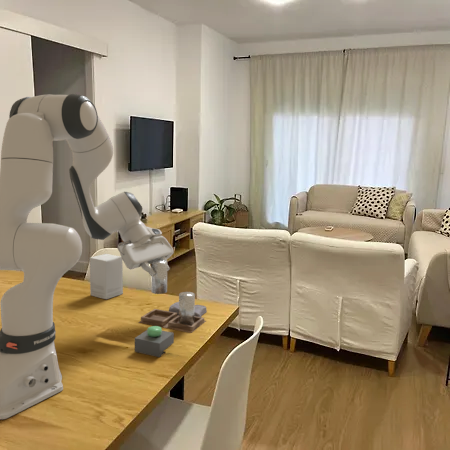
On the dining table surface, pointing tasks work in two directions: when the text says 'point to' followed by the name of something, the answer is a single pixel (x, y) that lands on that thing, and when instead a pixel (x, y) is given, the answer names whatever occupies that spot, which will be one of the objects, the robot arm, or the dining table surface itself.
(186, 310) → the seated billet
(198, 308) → the stone block
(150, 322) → the brown wooden tray
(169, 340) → the console
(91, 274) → the supplement box
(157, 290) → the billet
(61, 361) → the dining table surface
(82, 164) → the robot arm
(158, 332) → the button
